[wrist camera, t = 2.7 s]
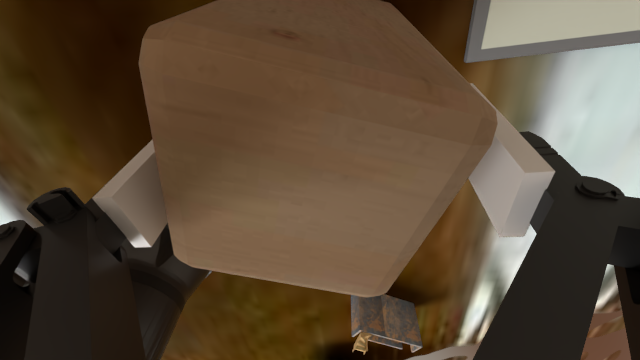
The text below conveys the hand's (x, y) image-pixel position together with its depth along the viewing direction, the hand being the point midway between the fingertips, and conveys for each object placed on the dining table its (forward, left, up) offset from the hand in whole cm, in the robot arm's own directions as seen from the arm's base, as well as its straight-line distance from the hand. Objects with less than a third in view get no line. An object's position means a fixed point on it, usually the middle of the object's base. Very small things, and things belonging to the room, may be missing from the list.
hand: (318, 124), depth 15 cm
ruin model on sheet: (+5, -42, -14) cm, 45 cm away
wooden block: (0, 0, -14) cm, 14 cm away
